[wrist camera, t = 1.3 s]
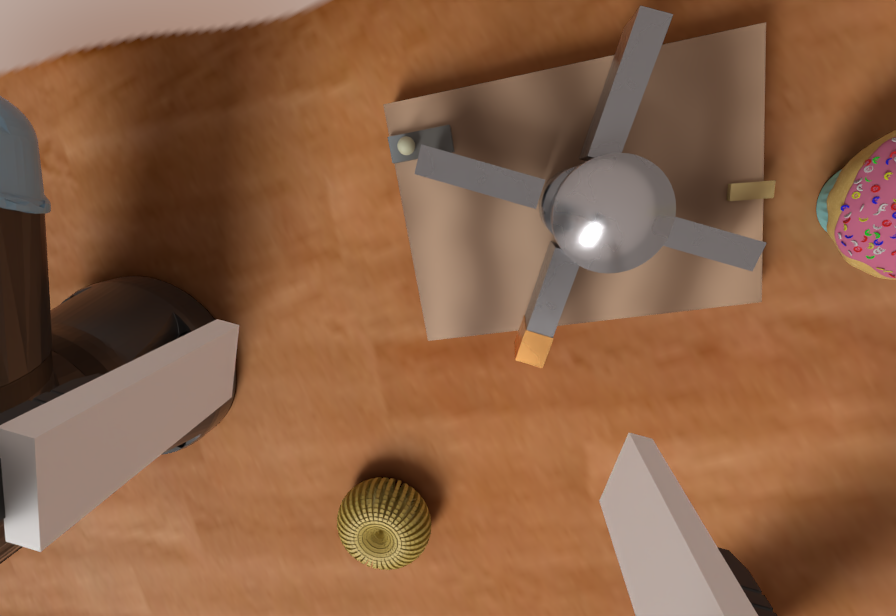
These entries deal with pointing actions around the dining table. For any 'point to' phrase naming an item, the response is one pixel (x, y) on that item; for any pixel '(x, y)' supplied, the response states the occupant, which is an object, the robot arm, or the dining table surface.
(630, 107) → the capstan
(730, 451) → the dining table surface
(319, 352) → the dining table surface
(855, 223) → the cupcake
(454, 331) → the stand
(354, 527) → the sculpture
